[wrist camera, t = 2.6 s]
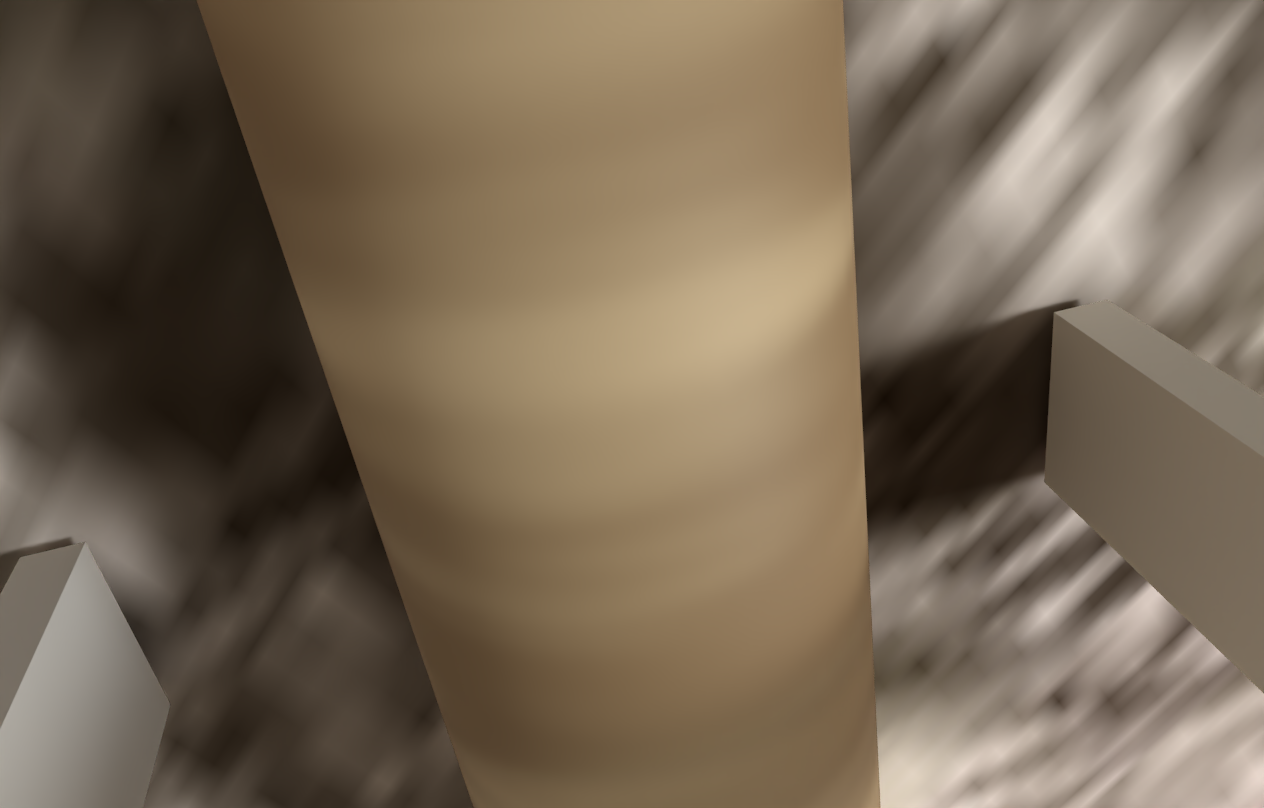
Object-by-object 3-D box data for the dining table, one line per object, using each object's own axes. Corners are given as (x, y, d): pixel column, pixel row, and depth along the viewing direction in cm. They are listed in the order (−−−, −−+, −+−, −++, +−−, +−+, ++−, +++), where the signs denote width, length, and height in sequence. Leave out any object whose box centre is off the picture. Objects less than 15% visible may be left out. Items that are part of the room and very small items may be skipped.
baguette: (68, -577, 8) (-302, -1078, 4) (678, -654, 9) (971, -1170, 4) (571, 1004, 19) (625, 1343, 15) (827, 927, 19) (951, 1232, 15)
